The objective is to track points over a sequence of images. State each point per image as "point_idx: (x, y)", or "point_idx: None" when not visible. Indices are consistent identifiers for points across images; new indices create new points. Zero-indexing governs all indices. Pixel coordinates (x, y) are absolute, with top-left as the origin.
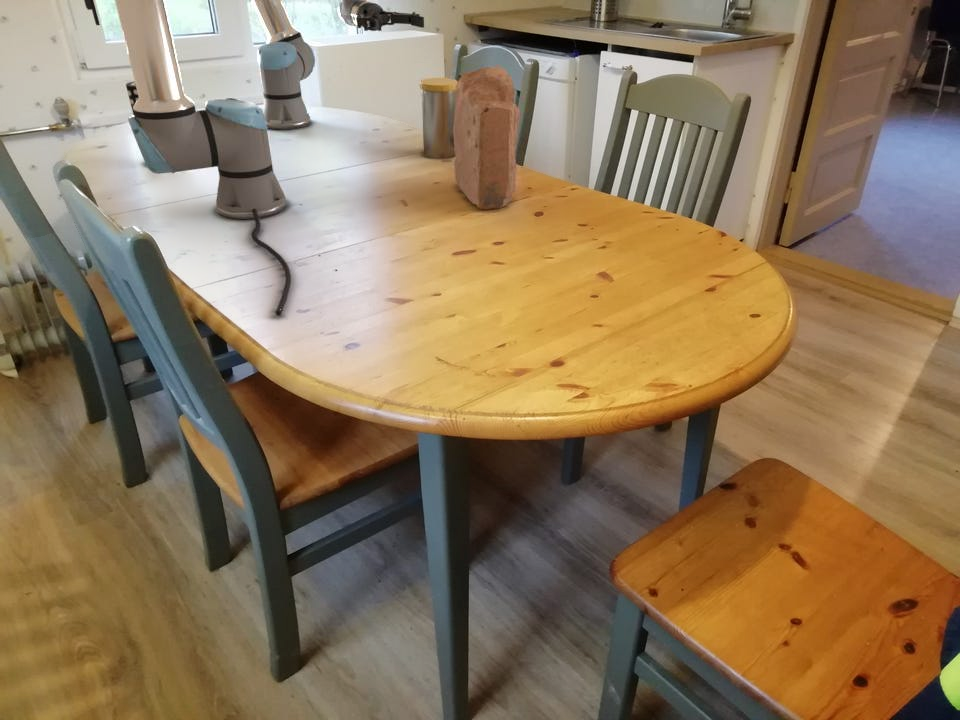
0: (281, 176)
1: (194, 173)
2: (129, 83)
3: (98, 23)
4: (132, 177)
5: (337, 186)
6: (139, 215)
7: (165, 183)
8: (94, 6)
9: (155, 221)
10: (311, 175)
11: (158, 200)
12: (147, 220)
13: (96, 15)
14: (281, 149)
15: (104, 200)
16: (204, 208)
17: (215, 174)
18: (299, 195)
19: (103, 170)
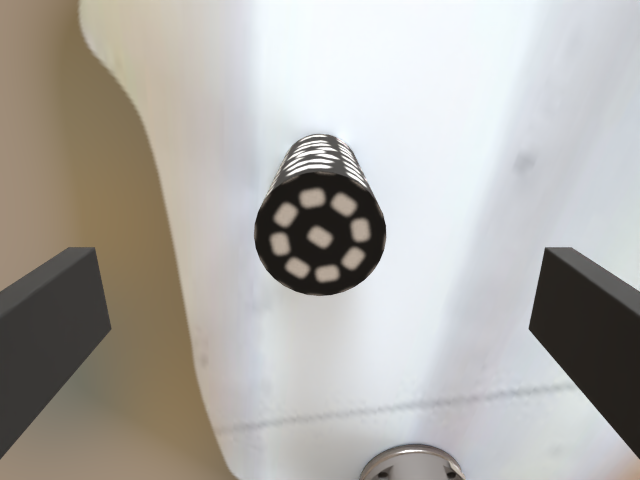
0: (513, 372)
1: (369, 286)
2: (268, 215)
3: (98, 334)
4: (247, 258)
5: (569, 453)
6: (248, 448)
7: (305, 322)
8: (17, 432)
9: (269, 476)
10: (563, 389)
11: (282, 401)
12: (258, 469)
13: (65, 375)
14: (609, 191)
15: (195, 366)
16: (344, 458)
17: (406, 310)
18: (494, 465)
19: (186, 177)
